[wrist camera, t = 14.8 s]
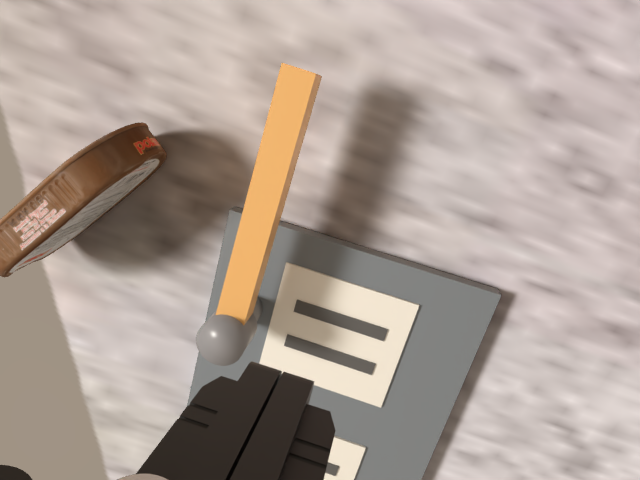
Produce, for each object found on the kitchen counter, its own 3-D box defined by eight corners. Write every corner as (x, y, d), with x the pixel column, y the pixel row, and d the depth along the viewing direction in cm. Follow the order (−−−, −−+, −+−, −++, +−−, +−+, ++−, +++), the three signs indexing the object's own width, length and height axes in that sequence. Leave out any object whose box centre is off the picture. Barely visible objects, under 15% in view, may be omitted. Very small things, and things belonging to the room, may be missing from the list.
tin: (165, 117, 34) (92, 120, 26) (191, 153, 34) (128, 166, 26) (36, 228, 38) (-61, 259, 30) (61, 258, 38) (-28, 298, 30)
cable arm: (280, 62, 27) (266, 57, 24) (331, 79, 27) (323, 75, 24) (209, 334, 33) (191, 355, 30) (250, 350, 33) (236, 372, 30)
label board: (497, 288, 33) (509, 309, 29) (386, 548, 41) (385, 588, 37) (235, 206, 34) (217, 217, 31) (176, 472, 42) (157, 503, 39)
